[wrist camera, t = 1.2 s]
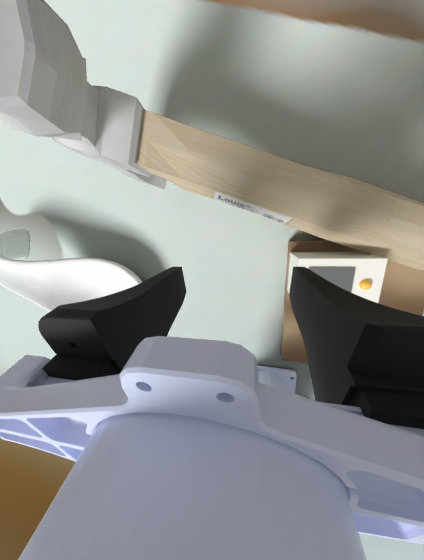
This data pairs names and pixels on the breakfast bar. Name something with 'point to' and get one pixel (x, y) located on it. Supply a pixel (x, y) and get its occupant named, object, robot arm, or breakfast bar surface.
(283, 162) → the hammer
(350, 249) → the board
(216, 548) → the robot arm
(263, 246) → the breakfast bar surface
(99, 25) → the breakfast bar surface
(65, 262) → the spoon rest
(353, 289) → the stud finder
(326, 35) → the breakfast bar surface
